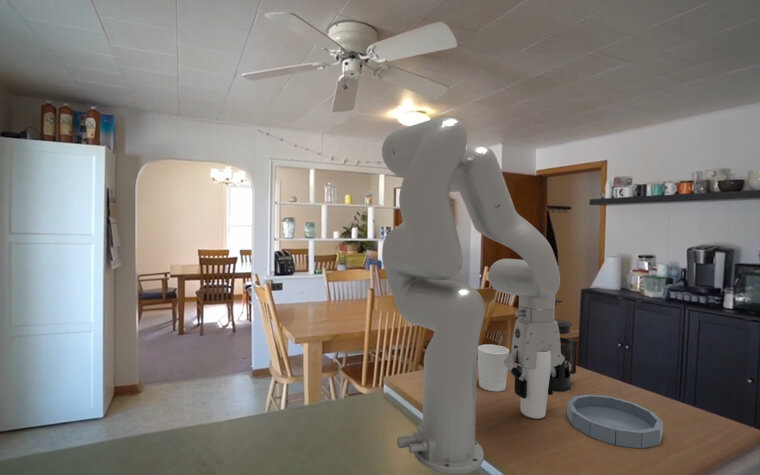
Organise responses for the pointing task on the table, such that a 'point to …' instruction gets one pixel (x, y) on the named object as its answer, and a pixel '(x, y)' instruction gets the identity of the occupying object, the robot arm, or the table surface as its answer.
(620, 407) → the bowl
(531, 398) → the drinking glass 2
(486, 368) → the white cup
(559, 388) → the french press
